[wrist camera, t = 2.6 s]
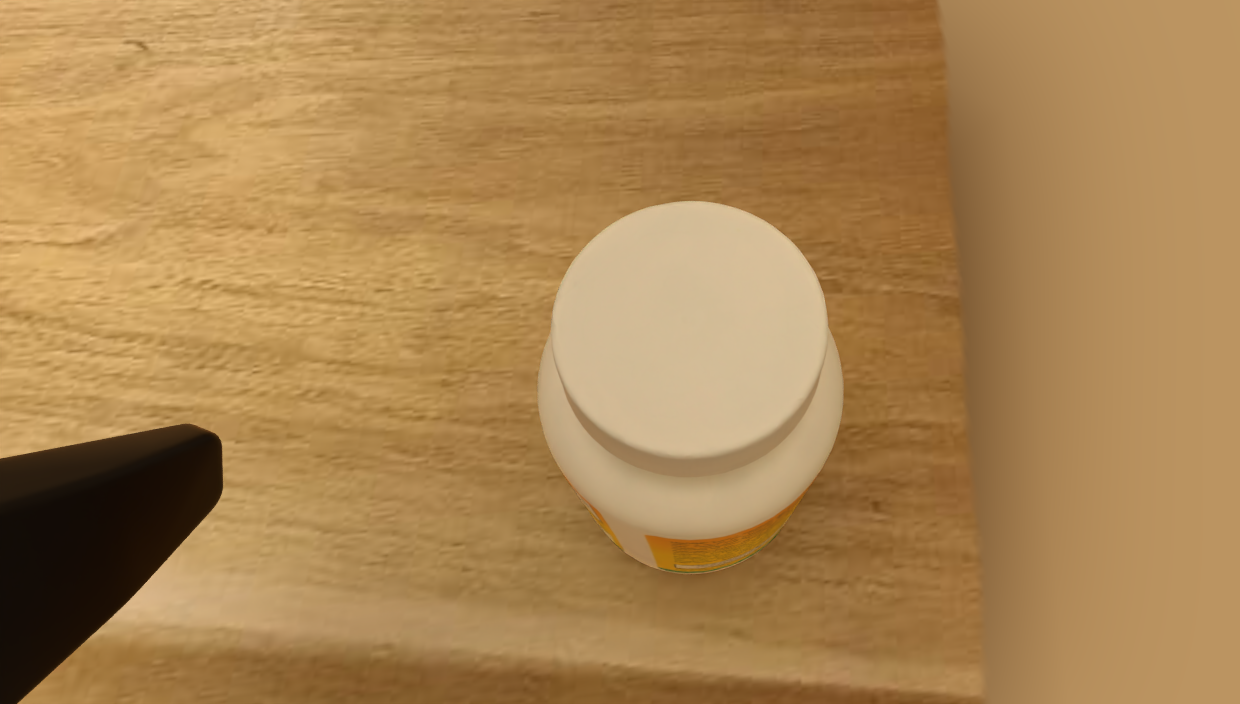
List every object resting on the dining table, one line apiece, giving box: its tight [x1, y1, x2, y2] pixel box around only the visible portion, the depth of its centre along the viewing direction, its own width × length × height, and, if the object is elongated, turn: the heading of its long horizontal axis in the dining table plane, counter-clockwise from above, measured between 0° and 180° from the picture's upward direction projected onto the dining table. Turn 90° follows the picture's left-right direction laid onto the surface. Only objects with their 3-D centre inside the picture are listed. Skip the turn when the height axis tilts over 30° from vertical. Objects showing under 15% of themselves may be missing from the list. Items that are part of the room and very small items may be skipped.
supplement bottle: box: [537, 201, 843, 574], centre depth 16 cm, size 5×5×10 cm
